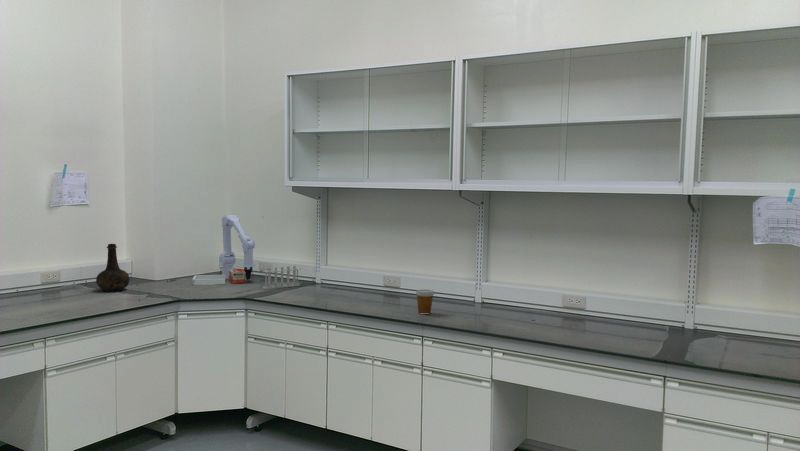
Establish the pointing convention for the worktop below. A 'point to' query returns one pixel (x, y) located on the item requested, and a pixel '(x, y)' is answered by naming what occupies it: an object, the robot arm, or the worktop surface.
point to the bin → (208, 279)
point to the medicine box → (236, 276)
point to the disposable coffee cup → (424, 300)
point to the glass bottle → (112, 273)
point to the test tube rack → (281, 277)
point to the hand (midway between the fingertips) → (248, 278)
